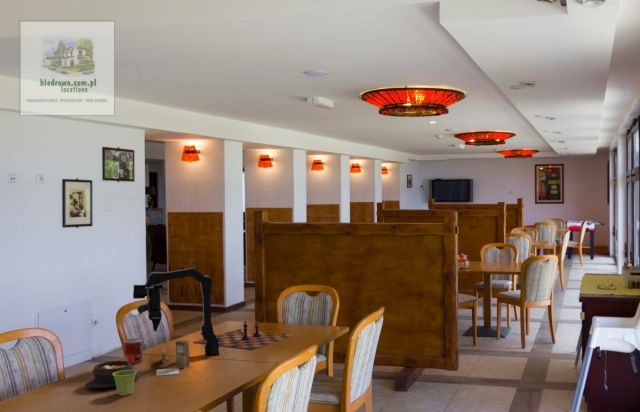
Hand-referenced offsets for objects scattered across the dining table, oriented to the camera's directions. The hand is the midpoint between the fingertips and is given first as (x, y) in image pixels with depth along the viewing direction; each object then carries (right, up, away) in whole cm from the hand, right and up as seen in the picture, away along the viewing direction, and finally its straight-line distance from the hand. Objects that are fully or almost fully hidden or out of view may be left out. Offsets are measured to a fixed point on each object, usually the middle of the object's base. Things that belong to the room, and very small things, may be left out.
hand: (155, 329), depth 335 cm
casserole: (-8, -16, -42) cm, 45 cm away
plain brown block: (+17, -15, -17) cm, 28 cm away
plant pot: (+2, -16, -57) cm, 59 cm away
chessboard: (+40, -14, +42) cm, 59 cm away
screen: (+6, -15, -9) cm, 18 cm away
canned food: (-9, -15, -5) cm, 19 cm away
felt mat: (+12, -15, -25) cm, 31 cm away
